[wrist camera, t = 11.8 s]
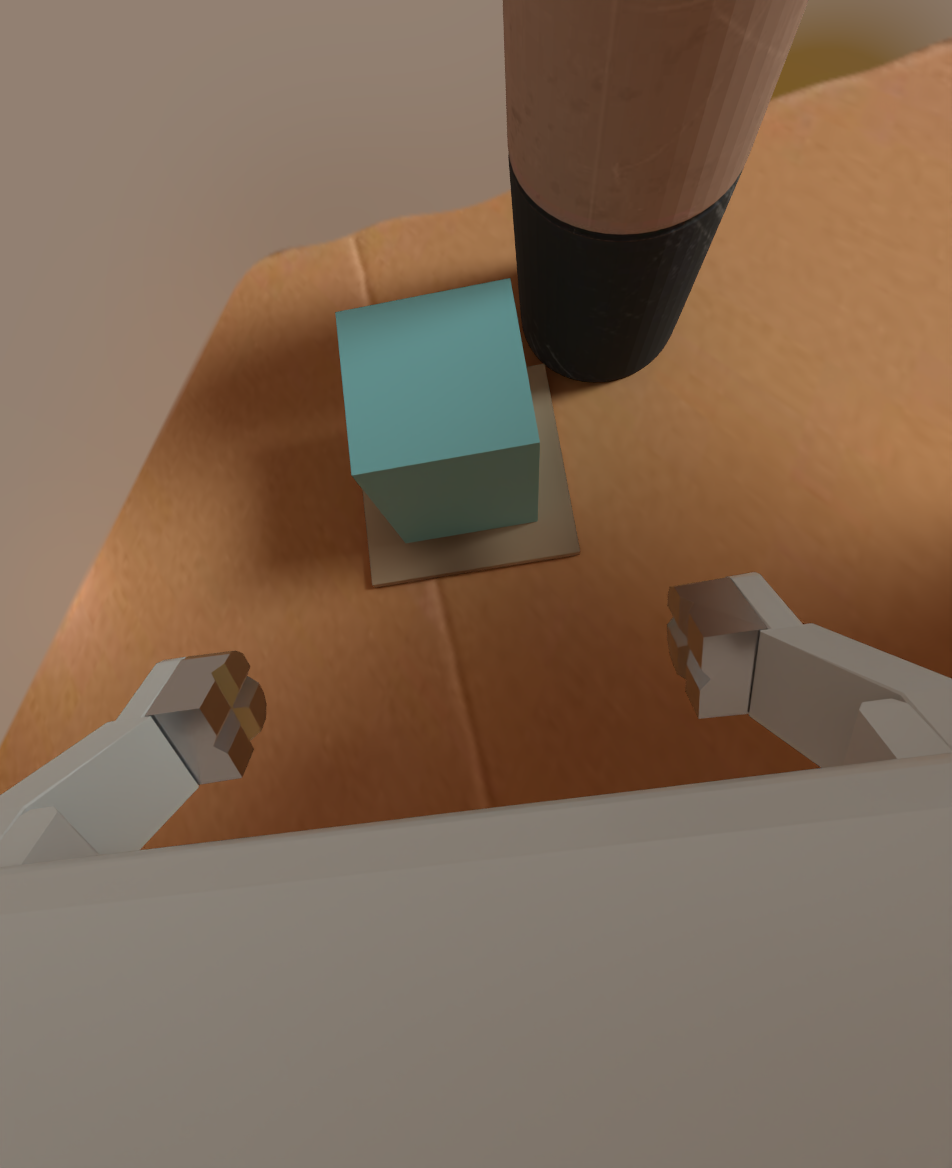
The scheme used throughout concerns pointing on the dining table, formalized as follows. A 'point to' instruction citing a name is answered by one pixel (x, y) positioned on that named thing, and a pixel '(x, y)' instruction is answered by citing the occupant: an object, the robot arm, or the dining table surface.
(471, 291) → the teal rectangular block
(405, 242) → the dining table surface
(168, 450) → the dining table surface
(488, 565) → the flat square base
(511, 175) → the travel mug
